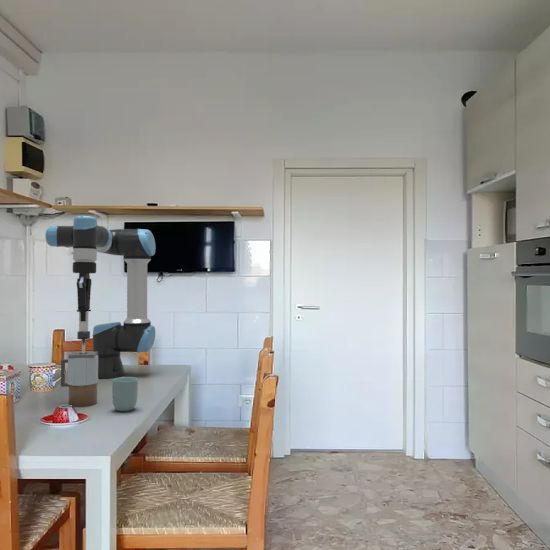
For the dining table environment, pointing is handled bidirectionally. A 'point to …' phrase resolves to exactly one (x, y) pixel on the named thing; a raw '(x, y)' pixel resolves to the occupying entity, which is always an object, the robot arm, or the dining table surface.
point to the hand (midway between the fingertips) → (83, 330)
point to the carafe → (81, 378)
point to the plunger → (83, 338)
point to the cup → (124, 393)
